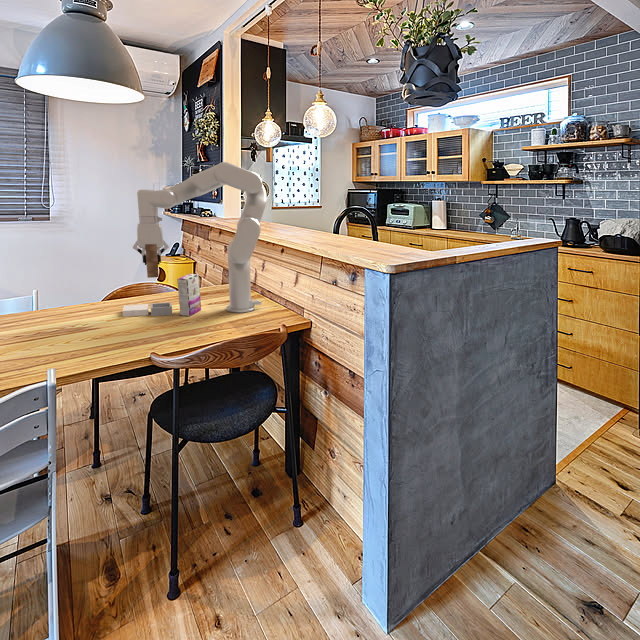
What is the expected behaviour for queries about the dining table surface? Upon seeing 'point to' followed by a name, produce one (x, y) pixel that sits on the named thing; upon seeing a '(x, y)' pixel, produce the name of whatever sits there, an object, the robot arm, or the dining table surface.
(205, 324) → the dining table surface
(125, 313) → the thin white tile
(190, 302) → the candy bar box
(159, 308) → the pocket
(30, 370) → the dining table surface
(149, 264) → the walnut block
